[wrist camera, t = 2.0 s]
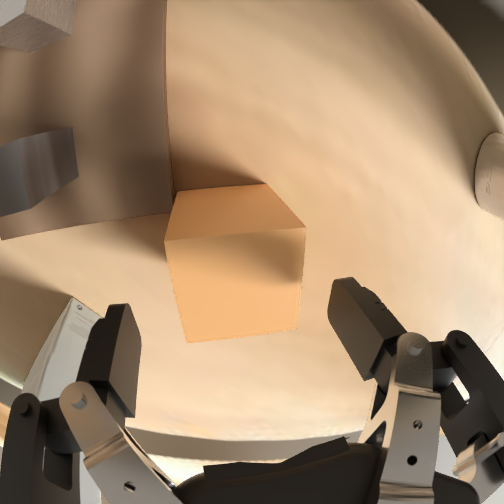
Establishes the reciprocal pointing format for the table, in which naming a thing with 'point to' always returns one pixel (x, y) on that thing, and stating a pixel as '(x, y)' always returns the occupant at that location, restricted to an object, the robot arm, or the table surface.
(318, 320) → the table surface
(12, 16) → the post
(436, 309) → the table surface
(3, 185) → the post board
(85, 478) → the skincare box
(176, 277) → the peach wooden cube
